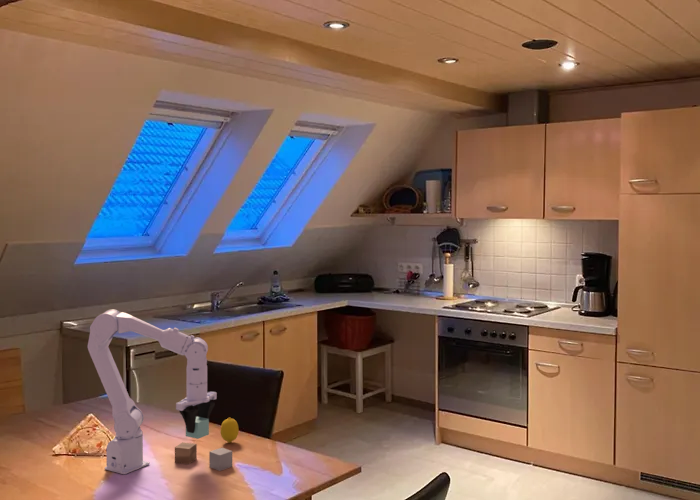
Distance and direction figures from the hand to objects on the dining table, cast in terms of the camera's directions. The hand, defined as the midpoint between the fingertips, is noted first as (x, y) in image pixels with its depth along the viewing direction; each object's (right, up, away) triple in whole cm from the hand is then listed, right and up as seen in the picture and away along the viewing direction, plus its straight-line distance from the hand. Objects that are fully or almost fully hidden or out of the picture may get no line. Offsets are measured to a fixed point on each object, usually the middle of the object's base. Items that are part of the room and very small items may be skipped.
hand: (197, 429), depth 196 cm
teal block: (0, -2, 0) cm, 2 cm away
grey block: (+7, -10, -1) cm, 12 cm away
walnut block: (-4, -10, +3) cm, 11 cm away
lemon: (+6, -9, +19) cm, 22 cm away
